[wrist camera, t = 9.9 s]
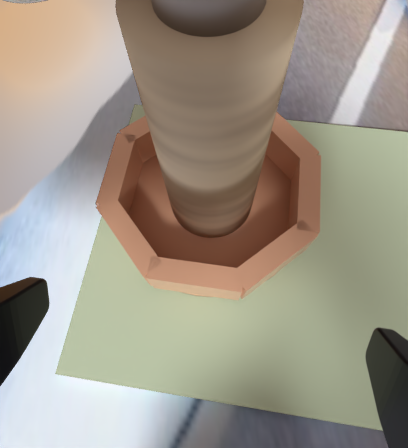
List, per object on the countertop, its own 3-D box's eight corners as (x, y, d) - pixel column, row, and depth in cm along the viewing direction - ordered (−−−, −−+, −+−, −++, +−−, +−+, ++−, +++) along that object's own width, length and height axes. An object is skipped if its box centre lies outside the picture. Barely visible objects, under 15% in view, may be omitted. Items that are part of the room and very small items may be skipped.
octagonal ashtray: (302, 311, 19) (318, 303, 16) (95, 281, 20) (75, 268, 17) (308, 136, 23) (321, 105, 20) (140, 118, 24) (131, 87, 21)
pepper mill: (248, 243, 20) (314, 27, 7) (164, 232, 20) (75, 10, 7) (255, 169, 22) (318, -108, 9) (178, 161, 22) (128, -116, 9)
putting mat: (602, 467, 16) (611, 470, 16) (58, 373, 18) (55, 374, 18) (519, 147, 23) (524, 143, 23) (135, 108, 25) (134, 104, 25)
